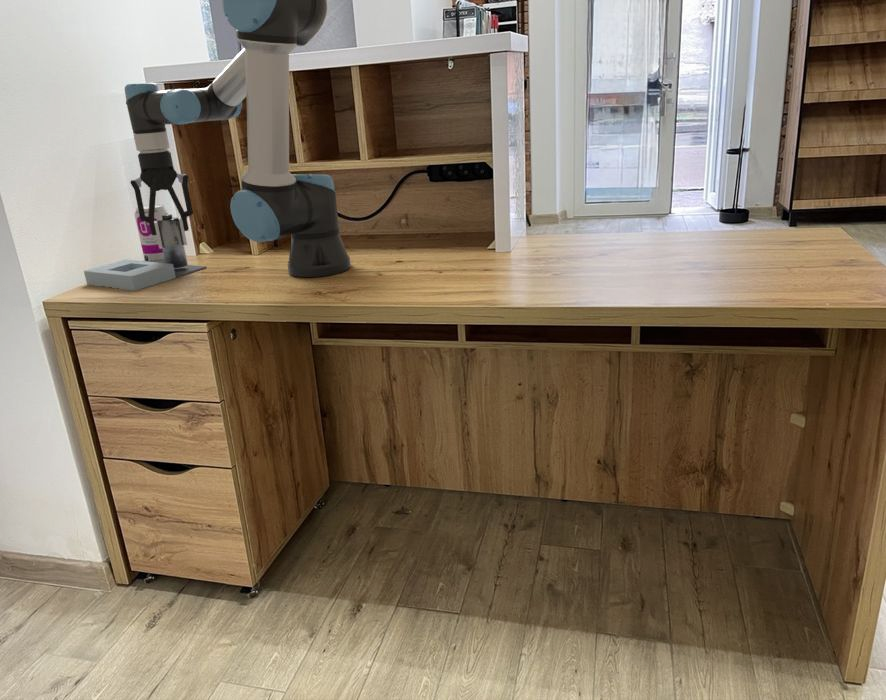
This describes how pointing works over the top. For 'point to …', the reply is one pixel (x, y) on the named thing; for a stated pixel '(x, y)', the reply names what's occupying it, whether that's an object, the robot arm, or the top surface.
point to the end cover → (172, 241)
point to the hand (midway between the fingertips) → (173, 245)
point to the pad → (187, 270)
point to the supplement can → (150, 235)
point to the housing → (130, 274)
